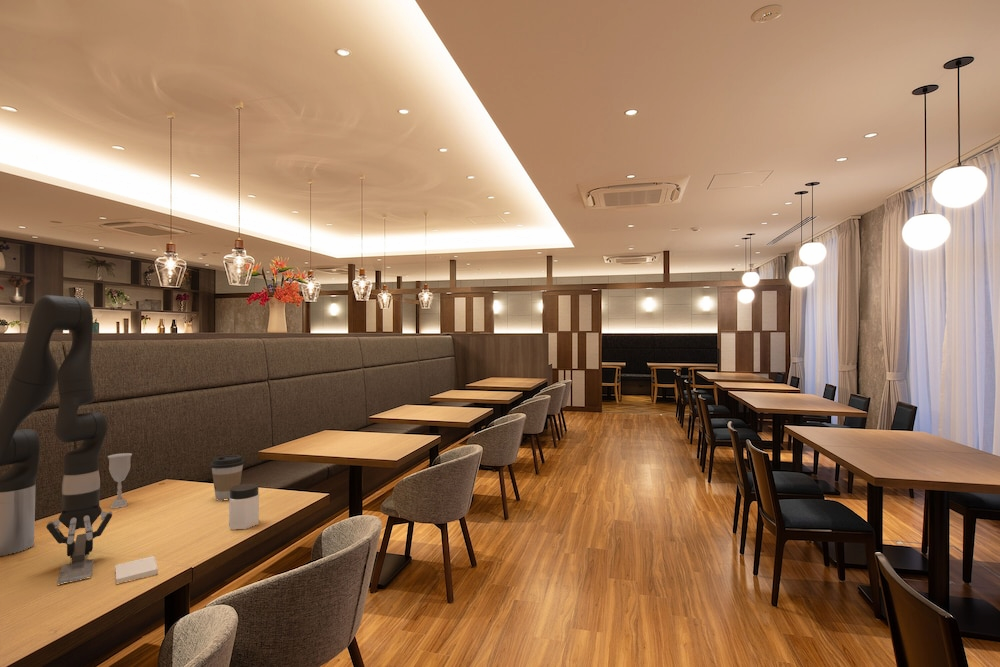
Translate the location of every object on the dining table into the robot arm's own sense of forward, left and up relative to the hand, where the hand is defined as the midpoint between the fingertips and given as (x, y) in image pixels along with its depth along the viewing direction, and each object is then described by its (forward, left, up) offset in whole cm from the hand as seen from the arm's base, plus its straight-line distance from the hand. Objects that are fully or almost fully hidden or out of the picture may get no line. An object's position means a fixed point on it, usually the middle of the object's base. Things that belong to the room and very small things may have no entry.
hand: (80, 555), depth 125 cm
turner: (0, -3, -1) cm, 3 cm away
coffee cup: (+39, +37, -2) cm, 54 cm away
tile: (+12, -12, -1) cm, 16 cm away
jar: (+39, +2, -2) cm, 39 cm away
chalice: (+7, +51, -2) cm, 52 cm away
